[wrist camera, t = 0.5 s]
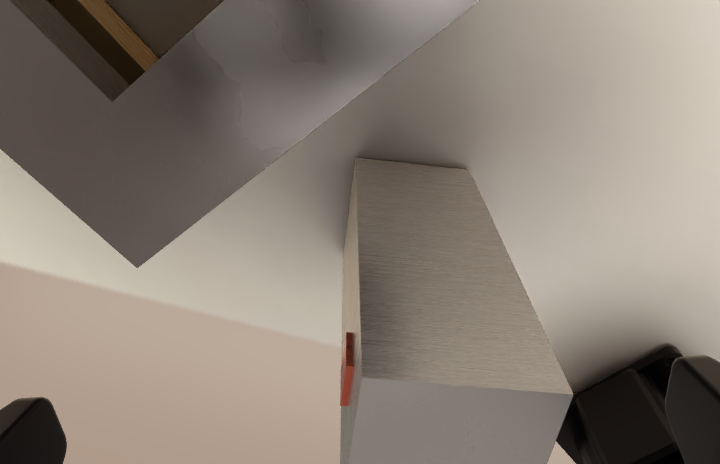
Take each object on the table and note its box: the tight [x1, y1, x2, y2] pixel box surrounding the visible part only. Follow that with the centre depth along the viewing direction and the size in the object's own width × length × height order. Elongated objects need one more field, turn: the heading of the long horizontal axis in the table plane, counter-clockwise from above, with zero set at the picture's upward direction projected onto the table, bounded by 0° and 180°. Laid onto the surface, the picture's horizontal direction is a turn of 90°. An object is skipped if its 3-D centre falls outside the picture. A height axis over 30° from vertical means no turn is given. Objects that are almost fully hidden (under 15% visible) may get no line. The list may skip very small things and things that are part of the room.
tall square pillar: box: [340, 158, 574, 464], centre depth 17 cm, size 4×4×11 cm
